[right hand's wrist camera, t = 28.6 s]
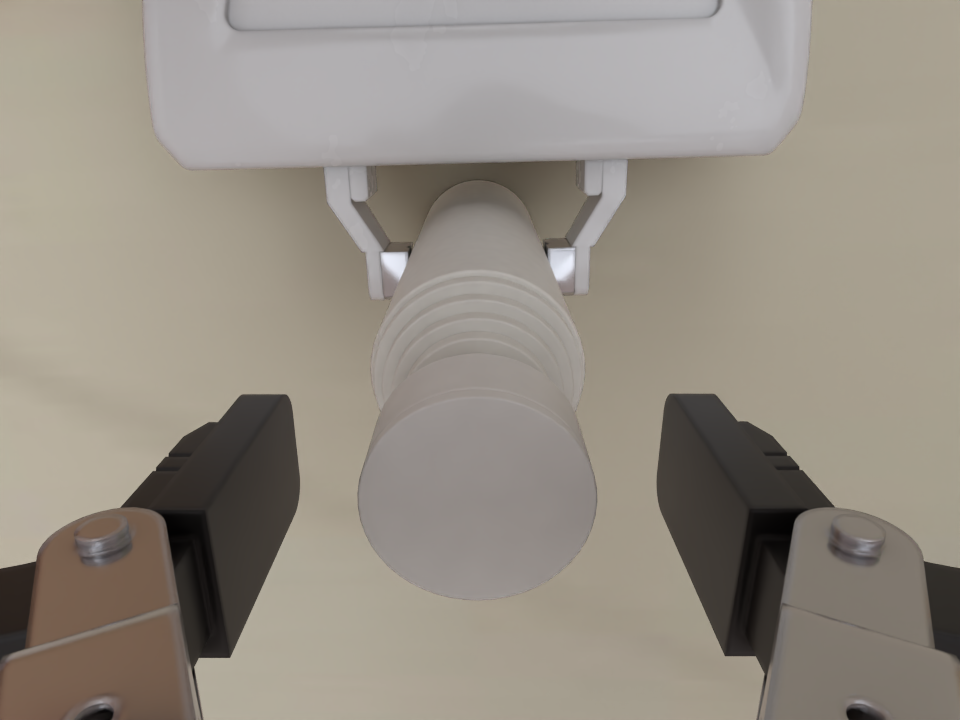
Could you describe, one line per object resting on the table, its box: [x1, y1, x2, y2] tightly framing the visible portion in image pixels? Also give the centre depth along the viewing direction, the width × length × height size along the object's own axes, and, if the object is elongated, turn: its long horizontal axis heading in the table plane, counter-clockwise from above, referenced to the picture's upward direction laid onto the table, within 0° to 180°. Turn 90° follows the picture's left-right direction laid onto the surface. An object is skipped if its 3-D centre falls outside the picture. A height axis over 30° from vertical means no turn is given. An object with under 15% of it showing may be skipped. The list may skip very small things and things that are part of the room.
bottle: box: [371, 180, 585, 412], centre depth 20 cm, size 5×5×20 cm
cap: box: [358, 353, 597, 600], centre depth 11 cm, size 4×4×2 cm
